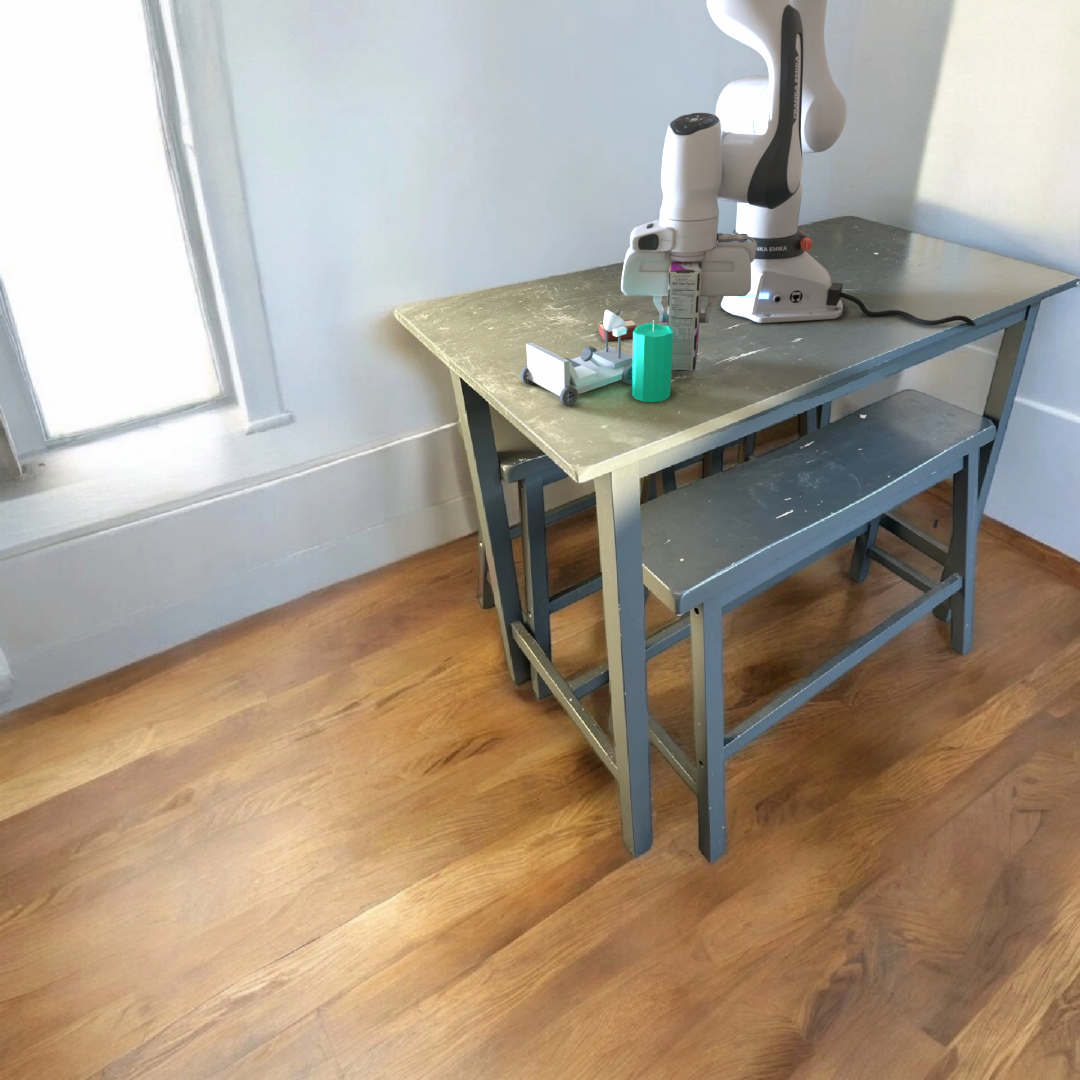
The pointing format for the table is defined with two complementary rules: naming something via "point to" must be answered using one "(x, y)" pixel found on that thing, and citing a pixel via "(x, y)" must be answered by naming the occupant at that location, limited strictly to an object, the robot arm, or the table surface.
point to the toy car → (579, 366)
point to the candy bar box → (684, 313)
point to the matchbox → (629, 334)
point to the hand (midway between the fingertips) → (683, 321)
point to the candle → (652, 362)
